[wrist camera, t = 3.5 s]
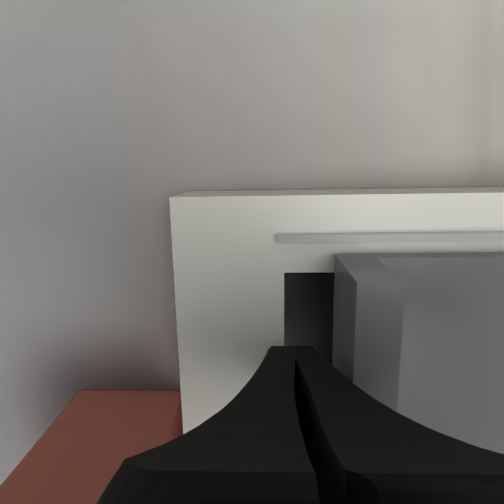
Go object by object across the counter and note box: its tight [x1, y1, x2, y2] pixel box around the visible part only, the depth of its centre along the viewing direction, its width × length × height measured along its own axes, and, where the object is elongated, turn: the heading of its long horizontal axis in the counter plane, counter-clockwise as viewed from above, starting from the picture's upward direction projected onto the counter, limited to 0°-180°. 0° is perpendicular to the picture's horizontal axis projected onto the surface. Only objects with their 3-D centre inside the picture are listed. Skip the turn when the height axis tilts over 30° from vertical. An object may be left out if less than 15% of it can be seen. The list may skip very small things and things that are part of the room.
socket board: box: [169, 187, 504, 434], centre depth 14 cm, size 16×16×3 cm
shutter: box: [332, 252, 504, 454], centre depth 10 cm, size 7×7×3 cm
